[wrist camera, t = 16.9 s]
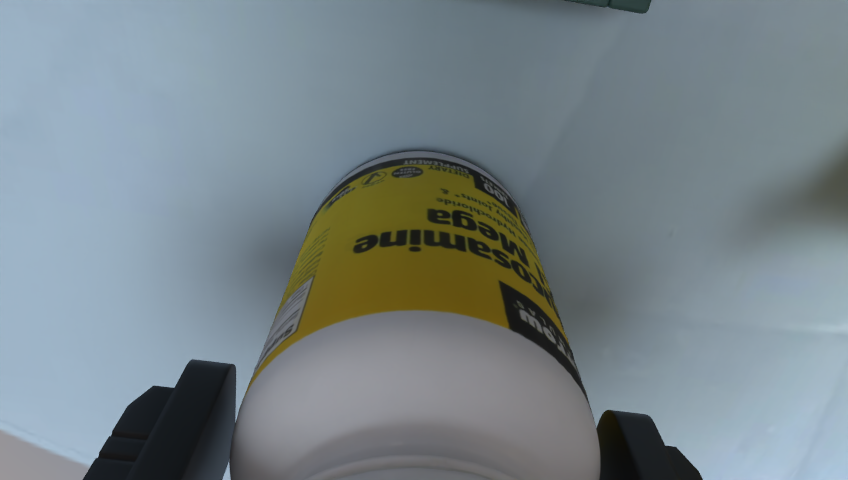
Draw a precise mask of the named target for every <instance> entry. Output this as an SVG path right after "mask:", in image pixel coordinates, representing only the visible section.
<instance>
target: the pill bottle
mask: <svg viewBox="0 0 848 480" xmlns="http://www.w3.org/2000/svg"><path fill="white" fill-rule="evenodd" d="M229 463H230V476H231V480H599V478H600V447H599V440H598V434H597V430H596V426H595V422H594V417H593V414H592V411H591V408H590V405H589V401H588V398H587V394H586V391H585V388H584V386H583V384H582V381H581V378H580V375H579V372H578V369H577V366H576V364H575V361H574V357H573V353H572V350H571V349H570V346H569V342H568V338H567V336H566V334H565V332H564V329H563V326H562V323H561V320H560V317H559V314H558V311H557V308H556V306H555V303H554V300H553V296H552V293H551V291H550V288H549V285H548V282H547V280H546V277H545V274H544V271H543V268H542V265H541V263H540V259H539V257H538V254H537V251H536V248H535V245H534V242H533V240H532V238H531V234H530V231H529V228H528V226H527V223H526V221H525V219H524V217H523V215H522V213H521V211H520V209H519V207H518V206H517V204H516V202H515V201H514V199H513V198H512V197H511V195H510V194H509V193H508V191H507V190H506V189H505V188H504V187H503V186H502V185H501V184H500V183H499V182H498V181H497V180H495V179H494V178H493V177H492V176H491V175H489V174H488V173H486V172H485V171H484V170H482V169H480V168H478V167H477V166H475V165H473V164H471V163H469V162H467V161H464V160H461V159H459V158H456V157H453V156H449V155H445V154H441V153H435V152H426V151H411V152H402V153H396V154H392V155H387V156H384V157H381V158H378V159H375V160H373V161H370V162H368V163H366V164H364V165H362V166H360V167H358V168H356V169H355V170H354V171H352V172H351V173H349V174H348V175H347V176H346V177H344V178H343V179H342V180H341V181H340V182H339V183H338V184H337V185H336V186H335V187H334V188H333V189H332V190H331V191H330V192H329V193H328V195H327V196H326V197H325V199H324V200H323V202H322V203H321V205H320V206H319V208H318V210H317V212H316V213H315V215H314V217H313V219H312V221H311V223H310V226H309V229H308V232H307V235H306V238H305V240H304V243H303V246H302V248H301V250H300V253H299V256H298V258H297V261H296V264H295V266H294V269H293V272H292V274H291V277H290V280H289V283H288V286H287V288H286V290H285V293H284V295H283V298H282V301H281V304H280V306H279V309H278V311H277V314H276V316H275V319H274V322H273V324H272V327H271V329H270V332H269V335H268V337H267V340H266V342H265V345H264V348H263V351H262V353H261V356H260V358H259V361H258V363H257V365H256V367H255V370H254V373H253V376H252V378H251V381H250V383H249V386H248V388H247V391H246V393H245V396H244V398H243V401H242V404H241V407H240V409H239V413H238V417H237V420H236V423H235V427H234V431H233V435H232V440H231V448H230V460H229Z"/></svg>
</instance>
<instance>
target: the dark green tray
mask: <svg viewBox="0 0 848 480" xmlns="http://www.w3.org/2000/svg"><path fill="white" fill-rule="evenodd" d="M565 1H571V2H577V3H582V4H588V5H594V6H600V7H609V8H612V9H618V10H624V11H629V12H635V13H641V14H643V13H646V12H647V11H648V9H649V6H650V3H651V0H565Z"/></svg>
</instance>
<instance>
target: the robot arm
mask: <svg viewBox="0 0 848 480" xmlns="http://www.w3.org/2000/svg"><path fill="white" fill-rule="evenodd" d="M235 408H236V367H235V365H234V364H228V363H219V362H211V361H202V360H194V359H192V360H190V361H189V363H188V364H187V366H186V367H185V369H184V371H183V373H182V375H181V377H180V379H179V381H178V382H177V384H176V386H175V388H170V387H161V386H152V387H151V388H150V389H149V390H147V391H146V392H145V393H144V394H142V395H141V396H140V397H138V398H137V399H136V400H135V401H133V402H132V403H131V404H130V405H128V406H127V408H126V410H125V411H124V413H123V415H122V416H121V418H120V419H119V421H118V423H117V424H116V426H115V428H114V429H113V431H112V435H111V437H110V436H109V437H108V439H107V441H106V442H105V444H104V446H103V447H102V449H101V451H100V452H99V457H98V458H96V459H95V460H94V462H93V464H92V465H91V467H90V469H89V470H88V472H87V474H86V475H85V477H84V479H83V480H222V479H223V476H224V473H225V470H226V468H227V465H228V462H229V458H230V448H231V440H232V435H233V431H234V427H235ZM596 430H597V434H598V440H599V447H600V478H599V480H703V479H702V477H701V475H700V473H699V471H698V470H697V469H696V468H695V467H694V466H693V465H692V464H691V463H690V462H689V460H688V459H687V458H686V457H685V456H684V455H683V454H682V453H681V452H680V451H679V450H678V449H677V448H676V447H672V446H665V444H664V442H663V440H662V438H661V436H660V434H659V432H658V430H657V428H656V426H655V423H654V422H653V420H652V418H651V417H650V416H648V415H646V414H638V413H630V412H621V411H613V410H607V411H605V412H604V413H603V414H602V416H601V418H600V420H599V423H598V425H597V428H596Z"/></svg>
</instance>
